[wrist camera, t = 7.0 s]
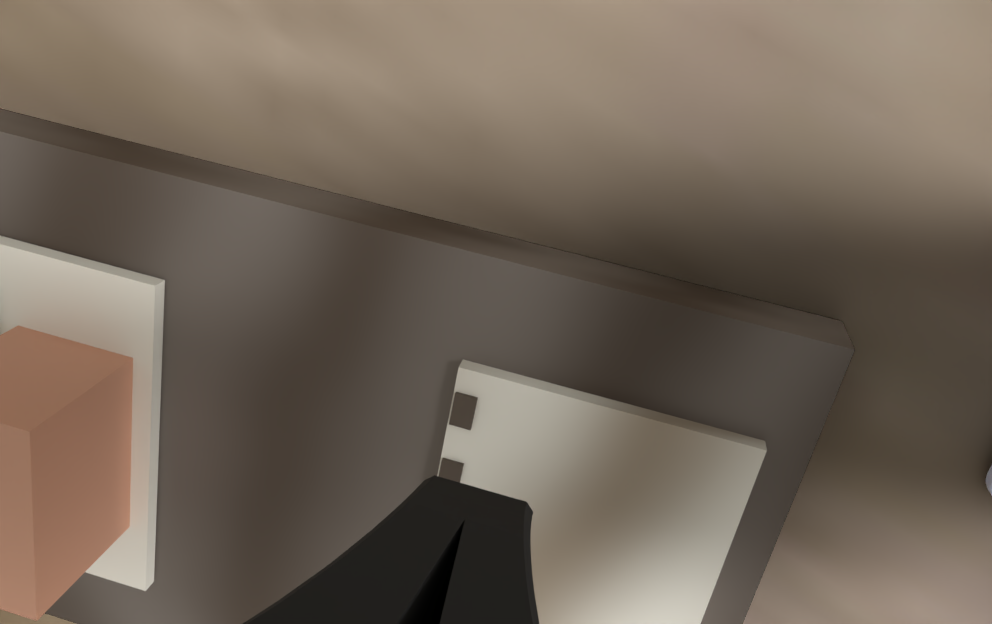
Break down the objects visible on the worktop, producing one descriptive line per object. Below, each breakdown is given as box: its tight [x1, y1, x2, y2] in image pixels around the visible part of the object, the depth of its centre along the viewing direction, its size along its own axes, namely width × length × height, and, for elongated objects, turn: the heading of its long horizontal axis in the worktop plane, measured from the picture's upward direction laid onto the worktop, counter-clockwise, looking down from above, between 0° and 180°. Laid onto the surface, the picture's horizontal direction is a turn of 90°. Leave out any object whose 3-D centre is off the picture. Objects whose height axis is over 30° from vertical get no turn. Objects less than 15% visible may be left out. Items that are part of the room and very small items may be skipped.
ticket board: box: [0, 109, 855, 624], centre depth 21 cm, size 22×14×2 cm, turn 79°
